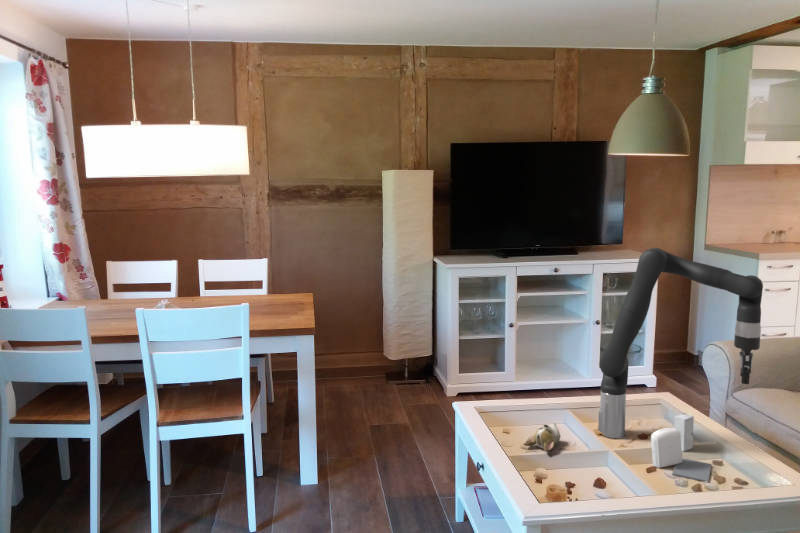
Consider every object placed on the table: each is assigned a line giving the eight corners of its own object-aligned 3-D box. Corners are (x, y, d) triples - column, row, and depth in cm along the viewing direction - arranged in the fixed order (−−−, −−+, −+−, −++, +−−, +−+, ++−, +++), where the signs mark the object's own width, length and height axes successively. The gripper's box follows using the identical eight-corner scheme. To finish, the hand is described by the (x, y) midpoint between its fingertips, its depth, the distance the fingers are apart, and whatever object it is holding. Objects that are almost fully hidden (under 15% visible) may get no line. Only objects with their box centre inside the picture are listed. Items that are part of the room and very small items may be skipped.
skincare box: (684, 452, 210) (685, 419, 208) (672, 447, 213) (673, 416, 212) (693, 447, 213) (694, 416, 212) (681, 443, 217) (683, 412, 215)
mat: (672, 475, 192) (672, 473, 192) (677, 458, 204) (677, 457, 204) (708, 482, 187) (708, 480, 187) (711, 465, 199) (711, 463, 199)
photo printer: (658, 469, 196) (656, 433, 196) (650, 464, 201) (648, 429, 200) (684, 463, 199) (682, 428, 198) (675, 458, 203) (673, 424, 202)
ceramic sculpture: (567, 421, 217) (547, 436, 206) (568, 443, 218) (548, 459, 207) (542, 415, 224) (521, 429, 213) (542, 436, 225) (522, 451, 215)
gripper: (734, 328, 206) (731, 373, 208) (735, 337, 194) (732, 384, 196) (758, 331, 203) (755, 376, 204) (762, 340, 190) (758, 387, 192)
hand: (744, 380), depth 200 cm, fingers open, 8 cm apart
